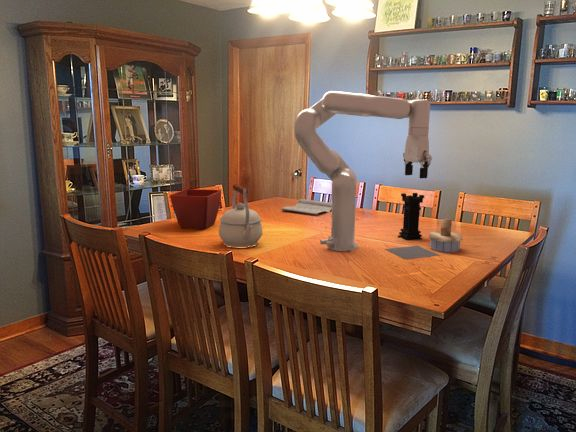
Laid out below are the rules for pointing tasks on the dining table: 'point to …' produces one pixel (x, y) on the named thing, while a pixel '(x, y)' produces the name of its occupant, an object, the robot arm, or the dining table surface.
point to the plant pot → (196, 207)
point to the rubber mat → (411, 252)
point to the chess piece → (411, 217)
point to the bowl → (445, 246)
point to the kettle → (240, 223)
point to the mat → (310, 207)
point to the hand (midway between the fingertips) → (415, 176)
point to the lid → (445, 232)
